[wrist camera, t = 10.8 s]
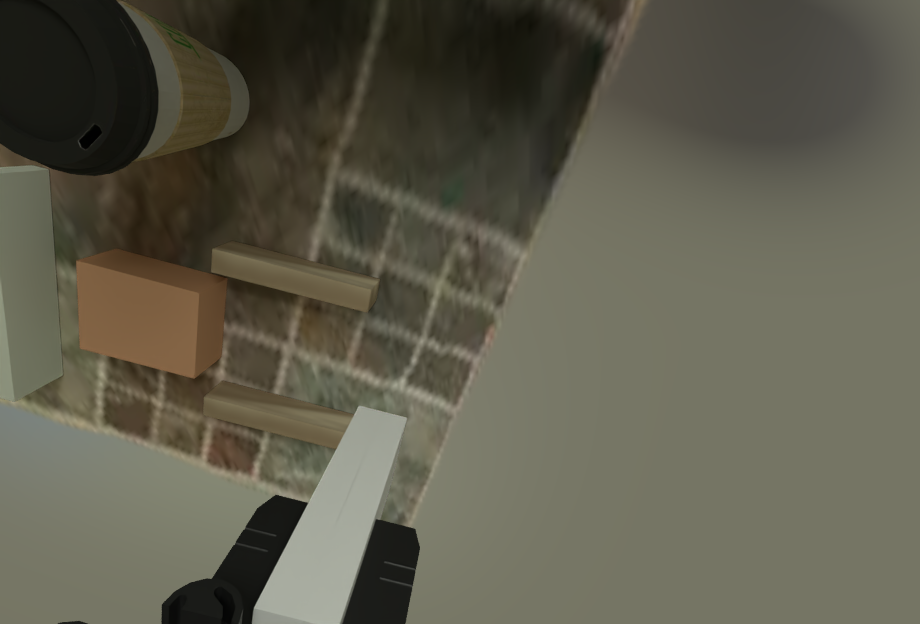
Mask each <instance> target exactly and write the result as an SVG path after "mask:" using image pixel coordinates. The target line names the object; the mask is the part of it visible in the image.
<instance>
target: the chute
mask: <svg viewBox="0 0 920 624" xmlns="http://www.w3.org/2000/svg"><path fill="white" fill-rule="evenodd" d="M211 272H212V273H216V274H220V275H224V276H228V277H232V278H236V279H239V280H243V281H247V282H251V283H255V284H259V285H263V286H266V287H270V288H274V289H278V290H282V291H286V292H290V293H293V294H297V295H301V296H305V297H309V298H313V299H317V300H320V301H324V302H328V303H332V304H336V305H340V306H344V307H347V308H351V309H355V310H359V311H363V312H368V311H369V310H370V308H371V307H372V306H373V304H374V303H375V302H376V299H377V294H378V289H379V284H380V279H378V278H374V277H370V276H366V275H362V274H358V273H354V272H351V271H347V270H343V269H339V268H335V267H331V266H328V265H324V264H320V263H316V262H312V261H308V260H305V259H301V258H297V257H293V256H289V255H285V254H282V253H278V252H274V251H270V250H266V249H262V248H258V247H255V246H251V245H247V244H243V243H239V242H235V241H230V242H228V243H225V244H223V245H220V246H218V247H215V248H213V249H212V264H211ZM203 415H204V416H208V417H212V418H216V419H220V420H224V421H228V422H232V423H236V424H239V425H243V426H247V427H251V428H255V429H259V430H263V431H267V432H271V433H275V434H279V435H282V436H286V437H290V438H294V439H298V440H302V441H306V442H310V443H314V444H318V445H322V446H326V447H329V448H333V449H337V447H338V445H339V443H340V441H341V439H342V437H343V435H344V434H345V432H346V430H347V428H348V426H349V424H350V422H351V420H352V418H353V416H354V414H350V413H346V412H343V411H339V410H335V409H331V408H327V407H323V406H319V405H315V404H311V403H307V402H304V401H300V400H296V399H292V398H288V397H284V396H280V395H276V394H272V393H269V392H265V391H261V390H257V389H253V388H249V387H245V386H241V385H237V384H233V383H230V382H226V381H221V382H220V383H219V384H218V385H217V386H216V387H215V388H213V389H212V390H211V391H210V392H209V393H208V394H207V395H206V396H204V407H203Z"/></svg>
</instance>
